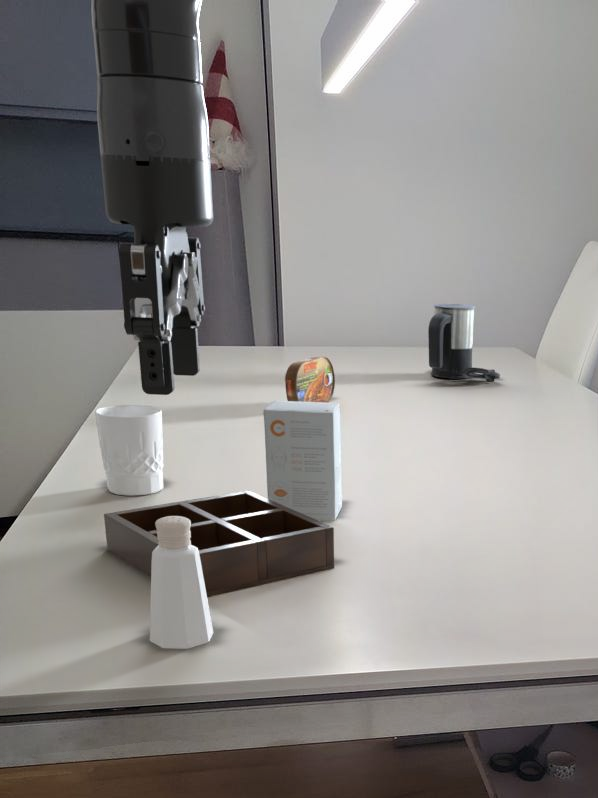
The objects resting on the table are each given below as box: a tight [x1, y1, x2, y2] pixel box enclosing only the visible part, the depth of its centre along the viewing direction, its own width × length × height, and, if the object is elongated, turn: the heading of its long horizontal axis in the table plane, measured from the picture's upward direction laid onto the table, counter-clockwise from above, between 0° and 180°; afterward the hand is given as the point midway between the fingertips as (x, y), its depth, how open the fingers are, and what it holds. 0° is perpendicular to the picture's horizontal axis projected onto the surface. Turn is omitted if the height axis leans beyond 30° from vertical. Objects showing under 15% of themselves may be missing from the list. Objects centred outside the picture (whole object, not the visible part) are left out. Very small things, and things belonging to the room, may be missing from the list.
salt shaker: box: [149, 516, 214, 650], centre depth 86 cm, size 5×5×11 cm
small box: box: [262, 400, 343, 522], centre depth 123 cm, size 8×6×13 cm
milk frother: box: [427, 303, 501, 383], centre depth 220 cm, size 14×16×15 cm
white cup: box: [94, 404, 164, 497], centre depth 130 cm, size 8×8×10 cm
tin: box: [284, 356, 336, 403], centre depth 186 cm, size 15×3×8 cm, turn 161°
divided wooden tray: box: [103, 490, 335, 598], centre depth 107 cm, size 17×17×4 cm
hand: (172, 383), depth 80 cm, fingers open, 8 cm apart
